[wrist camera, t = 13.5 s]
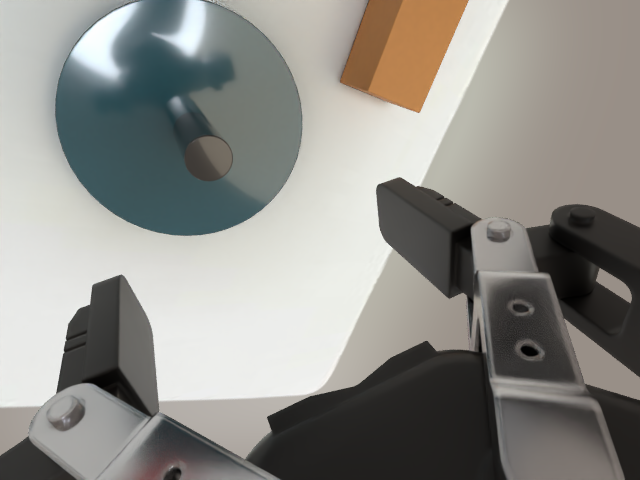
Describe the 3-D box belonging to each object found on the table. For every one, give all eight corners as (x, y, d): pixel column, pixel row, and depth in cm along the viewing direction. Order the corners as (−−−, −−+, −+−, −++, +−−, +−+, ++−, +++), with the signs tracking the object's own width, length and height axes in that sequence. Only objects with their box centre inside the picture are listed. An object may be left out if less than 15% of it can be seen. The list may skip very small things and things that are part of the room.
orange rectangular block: (385, -47, 25) (423, -55, 22) (435, -15, 27) (476, -18, 24) (339, 82, 28) (367, 91, 25) (388, 102, 30) (419, 113, 27)
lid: (-1, 26, 20) (-46, 32, 14) (271, -26, 23) (314, -36, 18) (123, 257, 27) (124, 316, 22) (312, 192, 31) (351, 229, 26)
